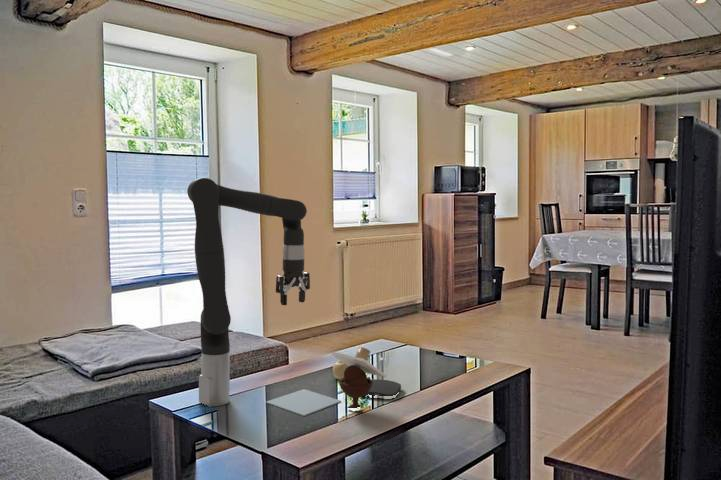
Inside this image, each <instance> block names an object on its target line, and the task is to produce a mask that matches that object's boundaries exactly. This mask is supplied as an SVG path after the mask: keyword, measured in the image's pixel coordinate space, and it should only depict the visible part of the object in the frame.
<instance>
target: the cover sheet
mask: <svg viewBox="0 0 721 480" xmlns="http://www.w3.org/2000/svg"><path fill="white" fill-rule="evenodd" d="M370 354H371V351H370V350H369V349H368V348H365V347H362V346H359V347H358V349H357V352H356V354H355V356H353V355H349V354H344V353H340V352H335V351H331V353H330V355H332V356H333V357H334V358H337V360H338V361H342V362H343V363H345V364H346V365H348V366H351V365H357V366H358V367H360V368H361V369H362V370H363V371H364V372H365V373H366V374H370V375H373V376H379V377H381V378H387V375H388V374H385V373H384V372H383V371H382V370H380V369H378V368H377V367H376V366H375V365H373V364H372V363H371V362H369V361H368V358H369V356H370Z"/></svg>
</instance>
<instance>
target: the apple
mask: <svg viewBox="0 0 721 480" xmlns="http://www.w3.org/2000/svg"><path fill="white" fill-rule="evenodd" d="M347 367H349V366H348V365H346V364H345V363H343V362H342V361H340V360H337V361H336V362H335V363H334V364H333V366H332V375H333V377H334V378H335V379H336V380H338V381H340V380H341V379H342V378H343V377H344V371H345V369H346V368H347Z"/></svg>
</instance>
